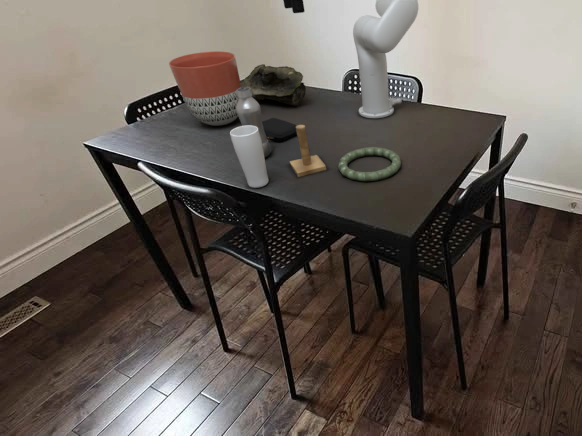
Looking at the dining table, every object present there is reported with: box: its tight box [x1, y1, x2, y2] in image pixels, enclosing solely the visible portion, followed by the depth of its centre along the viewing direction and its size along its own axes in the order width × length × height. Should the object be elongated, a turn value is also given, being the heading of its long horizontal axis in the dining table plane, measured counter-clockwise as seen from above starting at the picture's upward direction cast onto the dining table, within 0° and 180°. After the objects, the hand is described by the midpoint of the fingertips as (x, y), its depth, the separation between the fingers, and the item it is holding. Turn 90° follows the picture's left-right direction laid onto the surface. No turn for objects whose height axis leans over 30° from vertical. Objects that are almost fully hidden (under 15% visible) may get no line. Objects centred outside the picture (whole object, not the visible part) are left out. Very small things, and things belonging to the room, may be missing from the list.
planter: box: [168, 50, 242, 127], centre depth 139 cm, size 20×20×21 cm
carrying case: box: [262, 117, 297, 142], centre depth 135 cm, size 11×3×15 cm
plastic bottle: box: [236, 86, 272, 158], centre depth 117 cm, size 6×7×20 cm
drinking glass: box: [229, 125, 270, 189], centre depth 106 cm, size 7×7×15 cm
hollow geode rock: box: [242, 63, 307, 107], centre depth 159 cm, size 28×13×15 cm
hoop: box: [337, 146, 402, 182], centre depth 115 cm, size 17×17×2 cm
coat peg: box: [289, 124, 327, 178], centre depth 113 cm, size 8×8×12 cm
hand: (294, 10), depth 119 cm, fingers open, 9 cm apart
